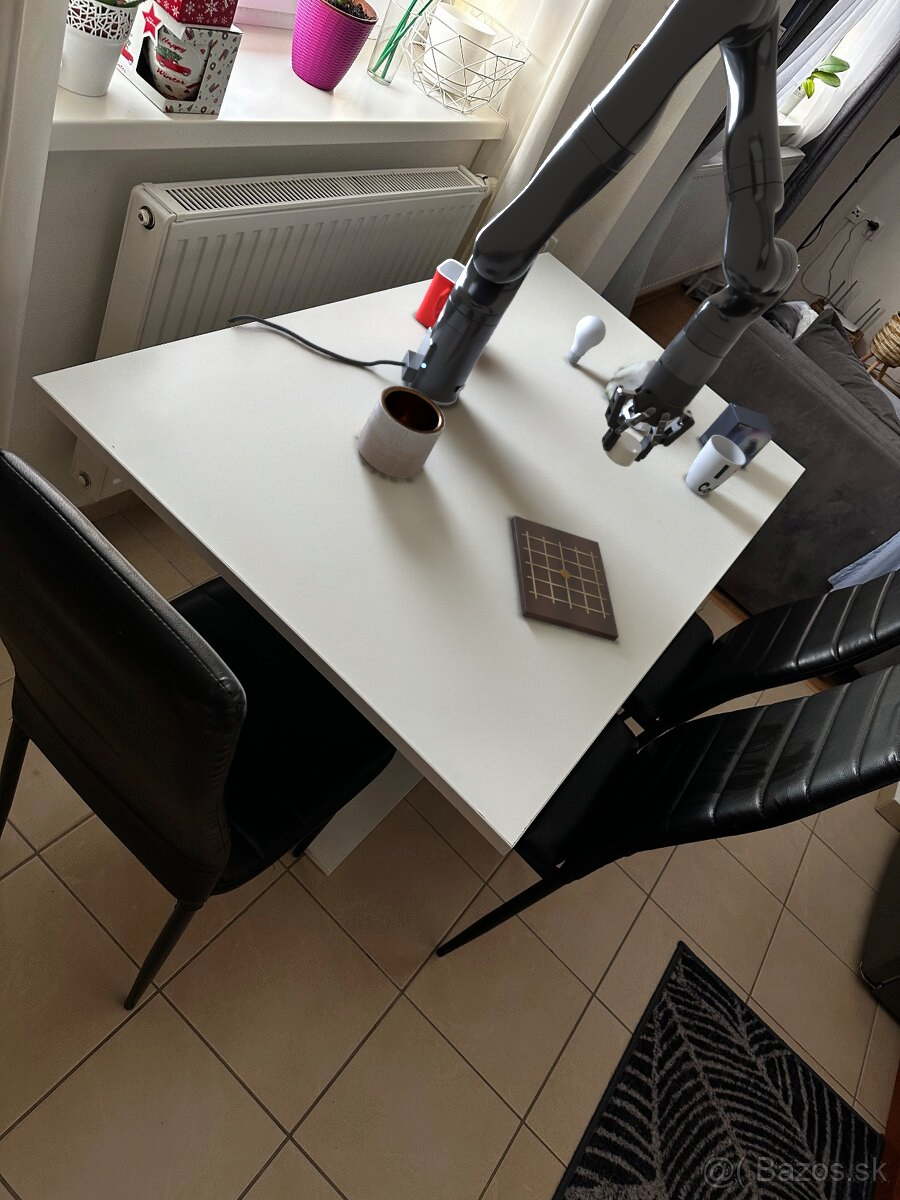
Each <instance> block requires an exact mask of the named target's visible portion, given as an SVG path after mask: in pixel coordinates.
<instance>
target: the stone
mask: <svg viewBox="0 0 900 1200" xmlns="http://www.w3.org/2000/svg"><path fill="white" fill-rule="evenodd" d="M656 362H657V360H655V359H652V358H648V359H646V360H642V361H638V362H635V363H632V364H630V365H628V366H626V367H624V368H622V369H620V370H619V371H618V372H617V373H615V374H614V375H613V377H611V379H610V380H609V382H608V384H607V386H606V388H605V391H604V394H605V396H606V397H607V398H608V399H609V401H610V400H611V398H612V395H613V393H614V391H615V388H616V386H618V385H622V386H623V387H624V389H628V390H635V389H636V388H637V387H639V386H640V385H642V384H643V382H644V380H645V378H646V376H647V374H648V373H649V372H650V370H651V369H652V367H653V366H654V365H655V363H656ZM632 402H633V399H631V400H629V401H628V403H627V405H624V406H623V408H622V410H621V413H622V412H623V410H624V408H626V407H627V406H628V405H630V404H631V403H632ZM621 413H620V414H621ZM634 416H635V415H634V412H633V417H634ZM633 428H634V429H635V430H638V431H643V432H648V431H649V428H650V425H649V424H648V423H642V422H640V423H638V424H637V425H635V426H634V427H633Z"/></svg>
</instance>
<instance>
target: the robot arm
mask: <svg viewBox="0 0 900 1200" xmlns="http://www.w3.org/2000/svg"><path fill="white" fill-rule="evenodd" d="M781 6H782V5H781V0H674V1H673V2H672V3H671V5H670V6H669V8H667V10H666V12H665V13H664V14H663V16H662V17H661V19H659V21H658V23H657V24H656V25H655V27H654V29H653V30H652V31H651V32H650V33H649V35H648V36H647V37H646V39H645V40H643V42H642V43H641V44H640V46H638V47H637V49H636V50H635V51H634V52H633V54H632V55H631V56H630V57H628V59H627V60H626V61H625V62H624V63H623V65H622V67H620V68H619V70H618V71H617V72H616V73H615V74H614V76H612V78H611V79H610V80H609V82H607V83H606V85H604V87H603V88H602V89H601V90H600V92H598V94H597V95H596V96H595V97H594V98H593V99H592V100H591V101H590V102H589V103H588V105H586V107H585V108H584V109H583V111H582V112H581V113H580V114H579V115H578V116H577V117H576V119H575V120H574V121H573V122H572V123H571V124H570V126H568V129H566V131H565V132H564V133H563V135H562V136H561V138H560V139H559V140H558V141H557V143H556V144H555V145H554V147H553V148H552V150H551V151H550V153H549V154H548V155H547V157H545V159H544V161H543V163H542V164H541V166H540V167H539V168H538V170H537V171H536V173H535V174H534V176H533V177H532V178H531V180H530V181H529V183H528V184H527V185H526V186H525V187H524V189H523V190H522V191H521V192H520V193H519V194H518V195H517V196H516V197H515V198H514V199H513V200H512V201H511V202H510V203H509V204H508V205H507V206H506V207H505V208H504V209H502V210H500V211H498V212H497V213H496V214H494V215H493V216H492V217H491V218H490V219H489V220H488V221H487V222H486V223H485V224H484V225H483V226H482V227H481V228H480V230H479V231H478V233H477V235H476V237H475V239H474V243H473V247H472V254H471V255H470V258H469V260H468V261H467V263H466V265H465V268H464V270H463V272H462V273H461V275H460V276H459V278H458V279H457V281H456V283H455V285H454V287H453V289H452V291H451V293H450V295H449V297H448V299H447V301H446V303H445V305H444V307H443V309H442V311H441V313H440V315H439V317H438V319H437V321H436V323H435V325H434V327H429V328H427V331H426V333H425V335H424V337H423V339H422V341H421V343H420V345H419V347H418V349H417V351H416V352H415V351H413V350H411V349H407V350H406V352H405V355H404V357H403V359H402V360H401V361H399V360H398V361H397V360H390V359H378V360H374V361H361V360H357V359H352V358H348V357H346V356H344V355H340V354H338V353H336V352H333V351H330V350H328V349H326V348H324V347H321V346H319V345H317V344H315V343H313V342H311V341H309V340H307V339H306V338H304V337H302V336H301V335H299V334H297V333H295V332H294V331H292V330H290V329H288V328H286V327H284V326H282V325H278V324H276V323H274V322H271V321H268V320H266V319H263V318H261V317H258V316H254V315H251V314H241V315H240V314H239V315H235V316H232V317H230V318H228V319H227V320H226V321H227V322H228V323H230V324H231V323H235V322H239V321H253V322H257V323H259V324H261V325H264V326H266V327H270V328H272V329H275V330H277V331H280V332H283V333H284V334H287V335H289V336H290V337H292V338H294V339H296V340H297V341H299V342H301V343H302V344H304V345H306V346H308V347H309V348H311V349H313V350H316V351H317V352H320V353H323V354H325V355H327V356H330V357H332V358H334V359H337V360H339V361H342V362H345V363H348V364H351V365H355V366H360V367H361V366H362V367H375V366H379V365H390V366H398V367H401V381H404V382H407V387H409V388H412V389H415V390H417V391H419V392H421V393H423V394H424V395H426V396H428V397H429V398H430V399H431V400H433V401H434V402H435V403H436V404H437V405H438V407H450V406H452V405H454V404H455V403H456V401H457V400H458V398H459V396H460V393H461V391H463V390H464V389H465V387H466V385H467V383H466V382H467V380H468V379H469V377H470V375H471V373H472V372H473V370H474V368H475V367H476V365H477V364H478V361H479V359H480V357H481V356H482V355H483V353H484V350H485V349H486V347H487V345H488V343H489V342H490V340H491V338H492V336H493V335H494V332H495V331H496V329H497V328H498V326H499V324H500V322H501V320H502V319H503V317H504V315H505V313H506V312H507V310H508V308H509V307H510V306H511V304H512V302H513V301H514V299H515V297H516V295H517V294H518V292H519V290H520V288H521V287H522V285H523V283H524V281H525V280H526V278H527V276H528V274H529V273H530V271H531V269H532V267H533V266H534V264H535V263H536V261H537V259H538V256H539V254H540V252H541V250H542V249H543V248H544V247H545V245H546V244H547V243H548V241H550V239H551V238H552V237H553V235H554V234H555V233H556V232H557V231H558V230H559V229H560V228H561V227H562V226H563V224H565V222H567V221H568V220H569V219H570V218H571V217H572V216H573V215H574V214H576V213H577V212H578V211H579V210H581V209H582V208H583V207H584V206H585V205H586V204H588V203H589V202H590V201H591V200H592V199H593V198H594V197H595V196H597V195H598V194H599V193H600V192H601V191H602V190H603V189H604V188H605V187H606V186H608V184H609V183H610V182H612V180H613V179H615V178H616V177H617V176H618V175H619V174H620V173H621V172H623V170H624V169H625V168H626V166H627V165H628V164H629V163H630V162H631V161H632V160H633V159H634V158H635V157H636V156H637V155H638V154H639V153H640V152H641V150H642V149H644V147H645V146H646V145H647V143H648V142H649V141H650V139H651V137H652V136H653V135H654V133H655V131H656V129H657V127H658V125H659V124H660V123H661V120H662V118H663V115H664V113H665V111H666V109H667V107H668V105H669V103H670V101H671V99H672V98H673V96H674V94H675V92H676V90H677V89H678V87H679V86H680V84H681V83H682V82H683V81H684V79H686V77H687V76H688V75H689V74H690V72H691V71H692V70H693V69H694V68H696V66H697V65H698V64H699V63H700V62H701V61H702V60H703V59H704V58H705V57H706V56H707V55H708V54H709V53H710V52H711V51H712V50H713V49H714V48H715V47H717V46H718V48H719V52H720V56H721V60H722V64H723V68H724V69H723V70H724V74H725V81H726V82H725V83H726V113H725V122H724V129H723V138H722V151H721V153H722V156H721V157H722V159H721V160H722V175H723V184H724V195H725V203H726V218H725V224H724V230H723V232H724V233H723V242H722V250H721V251H722V252H721V253H722V255H721V262H722V270H723V275H724V278H725V280H726V283H727V284H726V285H725V286H724V287H723V288H722V289H720V290H719V291H718V292H716V293H713V294H711V295H709V296H708V297H706V298H705V299H704V300H703V301H702V303H700V305H699V306H698V307H697V308H696V310H695V311H694V313H693V314H692V316H691V317H690V318H689V319H688V321H687V322H686V324H685V325H684V326H683V328H682V329H681V330H680V331H679V332H678V333H677V334H676V335H675V336H674V337H673V339H672V340H671V341H670V343H669V344H668V345H667V347H666V348H665V349H664V351H663V352H662V353H661V355H660V357H658V359H657V360H656V363H655V365H654V366H653V367H652V369H651V370H650V372H649V373H648V374H647V376H646V378H645V380H644V382H643V384H642V385H640V386H639V387H637V388H636V389H635V390H628V389H624V387H623V386H622V385H618V386H616V388H615V391H614V393H613V395H612V398H611V400H610V399H609V403H608V406H607V408H606V410H605V413H604V417H605V419H606V424H607V427H608V429H607V430H606V432H605V433H604V435H603V436H602V438H601V444H602V448H603V451H604V452H605V451H607V452H609V451H610V450H611V449H612V447H613V446H614V445H615V443H616V442H617V441H618V439H619V438H620V437H621V433H622V432H624V431H625V432H626V431H627V430H628V429H629V428H634V426H635V425H637V424H638V423H640V422H642V423H648V424H649V425H650V428H649V430H648V431H647V436H646V435H644V436H643V437H642V439H641V440H640V441H639V442H640V443H641V445H642V451H641V453H640V454H639V455H638V457H637V458H636V459H635V460H634V462H636V463H640V462H641V460H642V461H643V460H644V459H646V458H647V457H648V455H649V454H650V453H651V451H652V450H653V449H654V448H655V447H657V446H658V445H661V446H663V447H665V448H667V447H669V446H671V445H672V444H673V443H674V442H676V441H677V440H678V439H679V438H680V437H681V436H683V435H684V434H685V433H686V432H687V431H688V430H690V429H691V428H692V427H693V426H694V425H695V424H696V421H695V418H694V416H693V414H692V411H691V409H690V410H689V409H687V410H685V408H687V407H688V406H689V405H690V404H691V403H692V401H693V400H694V399H695V398H696V397H697V396H698V394H699V393H700V392H701V390H702V389H703V388H704V387H705V385H706V384H707V382H708V381H709V380H710V379H711V377H712V376H713V375H714V374H715V372H716V371H717V370H718V368H719V367H720V365H721V362H722V361H723V360H724V358H725V357H726V355H727V354H728V353H729V352H730V350H731V349H732V348H733V347H734V346H735V344H736V343H737V342H738V341H739V339H740V337H741V336H742V335H743V333H744V332H745V331H746V329H747V328H748V327H749V326H750V325H752V324H754V322H755V321H756V320H758V318H760V317H761V316H762V315H763V314H764V313H765V312H766V311H767V310H768V309H769V308H770V307H772V306H773V304H774V303H775V302H776V301H778V299H779V298H780V297H782V295H783V294H785V291H787V290H788V288H789V287H790V285H791V283H792V282H793V280H794V278H795V277H796V275H797V271H798V267H799V256H798V252H797V249H796V248H795V246H794V245H793V244H792V243H791V242H790V241H787V240H786V239H782V238H778V237H775V235H774V233H775V214H776V213H778V212H779V211H780V210H781V209H782V208H783V205H784V201H785V187H784V185H785V184H784V174H783V173H784V172H783V163H782V152H781V151H782V150H781V141H780V129H779V115H778V114H779V113H778V92H777V91H778V90H777V89H778V86H777V82H778V81H777V79H778V75H777V74H778V46H779V45H778V44H779V33H780V21H781V20H780V19H781ZM631 399H633V402H632V403H631V404H630V405H628V406H627V407H626V408H624V410H623V412H622V413H621V410H622V408H623V406H624V405H627V403H628V401H629V400H631ZM633 412H634V415H635V416H634V417H633ZM620 413H621V414H620ZM671 421H672V422H671ZM668 422H671V423H669V424H668ZM667 424H668V425H667Z"/></svg>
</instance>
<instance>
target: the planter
mask: <svg viewBox="0 0 900 1200" xmlns="http://www.w3.org/2000/svg"><path fill="white" fill-rule="evenodd" d="M445 427H446V418H445V415H444V412H443V411H442V409H441V408H440V406H438V405H437V404H436V403H435V402H434V401H433V400H431V399H430V398H429V397H428V396H426V395H424V394H423V393H421V392H419V391H417V390H415V389H412V388H409V387H408V386H405V385H391V386H387V387H385V388H384V389H383V390H381V392H380V394H379V396H378V398H377V400H376V402H375V404H374V406H373V408H372V410H371V412H370V414H369V416H368V418H367V420H366V421H365V423H364V426H363V427H362V429H361V432H360V434H359V436H358V441H357V447H358V450H359V452H360V455H361V456H362V458H363V459H364V460H365V461H366V462H367V463H368V464H369V466H371V468H374V469H375V470H377V471H378V472H380V473H382V474H383V475H387V476H389V477H393V478H397V479H408V478H409V479H410V478H413V477H415V476H416V475H417V474H419V473H420V472H421V470H422V469H423V467H424V465H425V464H426V462H427V460H428V458H429V457H430V454H431V452H432V451H433V449H434V447H435V446H436V444H437V442H438V440H439V438H440V436H441V434H442V432H443V431H444V429H445Z"/></svg>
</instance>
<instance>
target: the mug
mask: <svg viewBox="0 0 900 1200" xmlns="http://www.w3.org/2000/svg"><path fill="white" fill-rule="evenodd" d="M465 267H466V265H463V264H462V263H461V262H459V261H457V260H455V259H452V258H448V259H446V260H445V261H443V262H442V263H440V264H439V265H438V266H437V267H436V271H435V274H434V276H433V278H432V280H431V282H430V284H429V286H428V288H427V290H426V292H425V295H424V297H423V298H422V300H421V303H420V305H419V307H418V309H417V311H416V314H415V319H416V320H417V321H418V322H419V323H421V325H424V326H425V327H426V328H427V329H429V327H434V325H435V323H436V321H437V319H438V317H439V315H440V313H441V311H442V309H443V307H444V305H445V303H446V301H447V299H448V297H449V295H450V293H451V291H452V289H453V287H454V285H455V283H456V281H457V279H458V278H459V276H460V275H461V273H462V272H463V270H464V268H465Z"/></svg>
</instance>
